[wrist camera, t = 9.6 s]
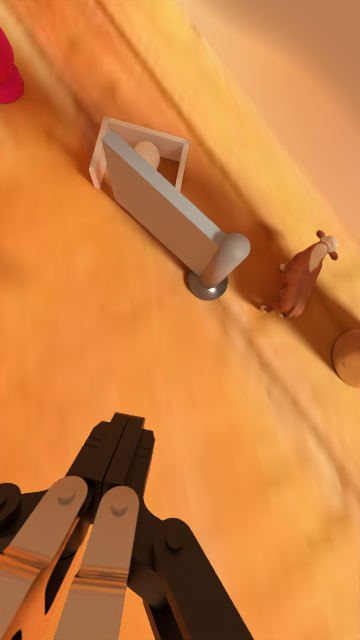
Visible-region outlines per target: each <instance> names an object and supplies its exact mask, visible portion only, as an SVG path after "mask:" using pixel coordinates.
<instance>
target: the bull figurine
mask: <svg viewBox="0 0 360 640" xmlns="http://www.w3.org/2000/svg"><path fill="white" fill-rule="evenodd" d="M316 234H317V236H318V238H320V241H319V242H318V243H315V244H313V245H312V246H310V247H308V248H307V249H305V250H304V251H302V252H300V253H298V254H296V255H295V256H294V258H293V259H292V260H291V261H290V262H289V263H286V264H285V265H284V264H283V263H282V264H280V265H279V267H280V269H281V271H283V270H285V269H287V270H286V272H285V273H284V274H283V276H282V278H281V282H280V286H281V290H280V291H279V292H278V294H277V296H276V299H275V301H274V302H272V303H271V304H270V305H269V306H267V307H266V306H265V305H261V307H260V308H261V309H262V312H268V313H270V312H271V311H272V310H275V309H276V310H277V311H279V312H280V313H279V317H281V318H284V319H287V318H289V317H291V316H293V317H296V316H298V315H300V314H301V313H302V312H303V310H304V308H305V305H306V302H307V300H308V298H309V296H310V294H311V292H312V289H313V287H314V284H315V282H316V279H317V277H318V275H319V273H320V270H321V267H322V261H323V259H324V257H325V256H326V254H327V253H328V254H329V255H330V257H331V258H332V259H333V260H337V258H338V255H337V253H336V252H335V251H334V250H335V249H336V248H337V247H338V242H337V240H336V238H335V237H334V236H330V235H329V236H327V237H326V236H325V233H324V232H323V231H320V230H319V231H317V233H316ZM286 313H287V314H288V315H287V314H286Z"/></svg>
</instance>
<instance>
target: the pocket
mask: <svg viewBox="0 0 360 640" xmlns="http://www.w3.org/2000/svg"><path fill="white" fill-rule="evenodd" d="M111 130H113V131H114V132H115V133H116V134H117V135H119V136H120V137H121V138H122V139H123V140H124V141H125V142H126V143H127V144H128V145H129V146H131V147H132V148H133V149H134V148H135V146H136V145H137V144H138V143H140V142H142V141H148V142H151V143H153V144H154V145H155V146H156V148H157V149H158V151H159V155H160V157H163V158H167V159H170V160H174V161H178V162H180V165H179V170H178V175H177V180H176V185H175V188H176V189H177V190H178V191H179V192H180V189H181V184H182V179H183V174H184V169H185V164H186V159H187V154H188V149H189V144H190V140H187V139H184V138H180V137H177V136H173V135H170V134H166V133H163V132H159V131H156V130H152V129H149V128H145V127H142V126H138V125H135V124H131V123H128V122H124V121H121V120H117V119H114V118H111V117H107V116H104V117H103V121H102V124H101V128H100V131H99V135H98V139H97V142H96V146H95V149H94V153H93V157H92V160H91V164H90V168H89V172H90V175H91V178H92V181H93V184H94V187H95V188H99V189H100V187H101V183H102V179H103V176H104V172H105V168H106V164H107V163H106V158H105V153H104V149H103V144H102V140H101V138H102V137H104V136H105V135H106V134H107V133H109V132H110V131H111Z"/></svg>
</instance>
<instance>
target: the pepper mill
mask: <svg viewBox="0 0 360 640" xmlns="http://www.w3.org/2000/svg"><path fill="white" fill-rule="evenodd" d="M23 90H24V83H23V80H22V78H21V76H20V73H19V71H18V69H17V67H16V66H15V64H14V54H13V50H12V47H11V45H10V43H9V41H8V39H7V37H6V35H5V34H4V32H3V31H2V29H1V28H0V103H10V102H14V101H15V100H17V99H19V98H20V96H21V95H22V93H23Z"/></svg>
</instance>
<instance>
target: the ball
mask: <svg viewBox="0 0 360 640" xmlns="http://www.w3.org/2000/svg"><path fill="white" fill-rule="evenodd" d="M134 150H135V151H136V152H137V153H138V154H139V155H140V156H141V157H142V158H144V159H145V160H146V161H147V162H148V163H149V164H150V165H151V166H152V167H153V168H154V169H155V170H156V169H157V168H158V166H159V163H160V155H159V151H158V149H157V148H156V146H155V145H154V144H153V143H151V142H148V141H142V142H140V143H138V144H137V145H136V146H135V148H134Z"/></svg>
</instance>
